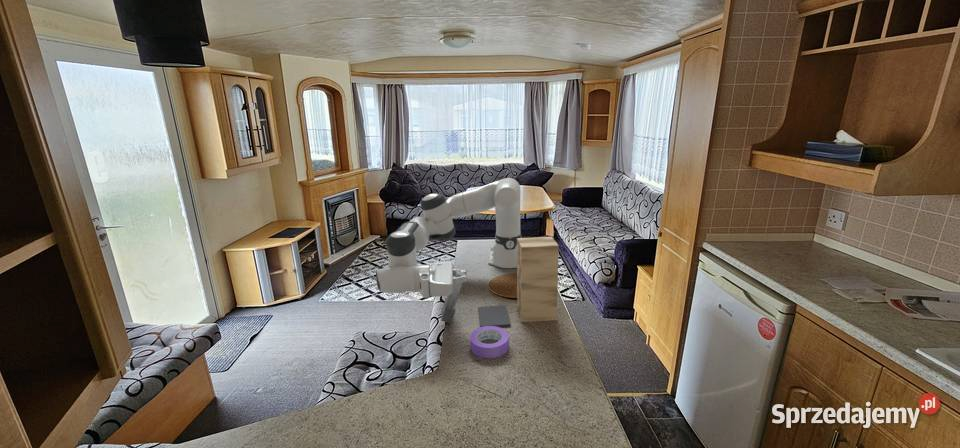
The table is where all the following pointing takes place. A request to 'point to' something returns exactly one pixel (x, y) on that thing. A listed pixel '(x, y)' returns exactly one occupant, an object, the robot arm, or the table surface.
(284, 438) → the table surface
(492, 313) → the mat
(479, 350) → the masking tape
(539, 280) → the oak post
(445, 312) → the bar
